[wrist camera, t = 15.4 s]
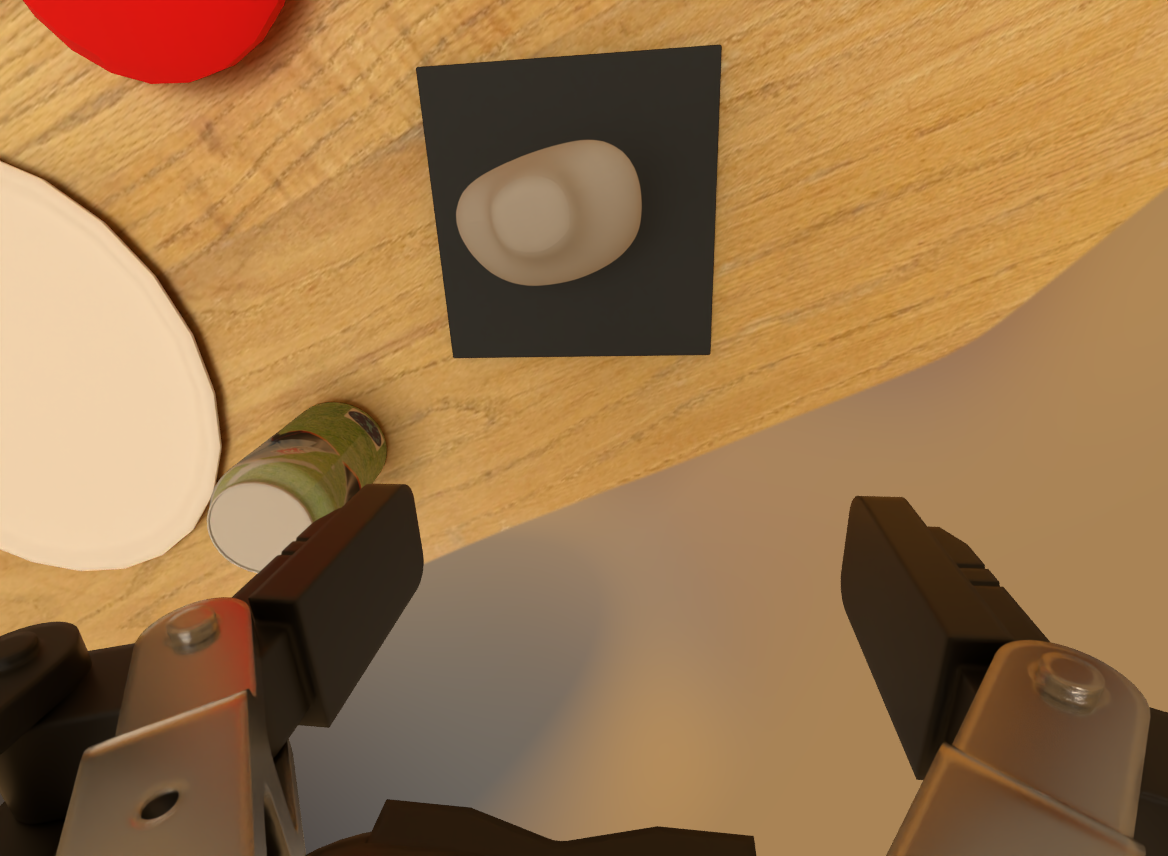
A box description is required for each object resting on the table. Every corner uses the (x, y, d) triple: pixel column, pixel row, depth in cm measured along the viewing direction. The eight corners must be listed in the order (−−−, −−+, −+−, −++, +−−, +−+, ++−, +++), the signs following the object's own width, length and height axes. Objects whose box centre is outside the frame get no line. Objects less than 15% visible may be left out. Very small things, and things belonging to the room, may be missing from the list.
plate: (-267, 298, 40) (-294, 302, 39) (-22, 33, 32) (-46, 27, 31) (53, 614, 48) (39, 625, 47) (315, 466, 40) (305, 474, 39)
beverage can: (286, 417, 39) (140, 509, 28) (375, 373, 37) (257, 454, 26) (339, 496, 41) (222, 611, 30) (427, 458, 39) (337, 566, 28)
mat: (720, 47, 29) (722, 44, 28) (709, 351, 34) (710, 355, 33) (420, 69, 30) (415, 66, 30) (457, 355, 36) (453, 358, 35)
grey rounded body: (527, 283, 33) (463, 332, 22) (494, 184, 31) (405, 185, 20) (658, 241, 32) (660, 273, 20) (631, 135, 30) (616, 107, 19)
